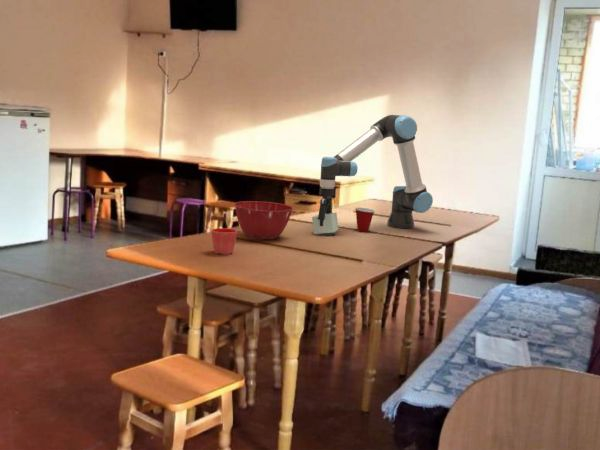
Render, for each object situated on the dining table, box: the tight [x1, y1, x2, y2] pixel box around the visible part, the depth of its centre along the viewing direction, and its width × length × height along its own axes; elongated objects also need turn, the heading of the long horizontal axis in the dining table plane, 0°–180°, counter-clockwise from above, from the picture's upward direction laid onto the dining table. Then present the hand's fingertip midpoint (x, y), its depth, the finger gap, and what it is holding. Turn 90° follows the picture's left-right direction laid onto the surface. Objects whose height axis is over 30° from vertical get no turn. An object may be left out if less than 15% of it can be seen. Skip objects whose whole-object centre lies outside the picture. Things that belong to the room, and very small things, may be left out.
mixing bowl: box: [233, 200, 294, 240], centre depth 330 cm, size 28×28×16 cm
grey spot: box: [317, 233, 334, 236], centre depth 351 cm, size 10×10×1 cm
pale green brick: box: [311, 212, 339, 235], centre depth 350 cm, size 10×10×9 cm
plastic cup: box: [354, 206, 376, 233], centre depth 365 cm, size 11×11×12 cm
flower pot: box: [210, 227, 238, 255], centre depth 290 cm, size 11×11×10 cm
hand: (324, 230), depth 351 cm, fingers closed on pale green brick, 10 cm apart
